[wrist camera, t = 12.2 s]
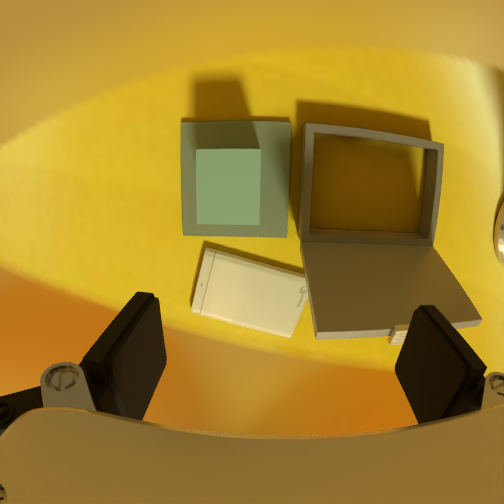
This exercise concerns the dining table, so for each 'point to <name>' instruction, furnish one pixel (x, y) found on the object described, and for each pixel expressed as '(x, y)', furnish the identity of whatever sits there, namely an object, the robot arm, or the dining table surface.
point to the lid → (379, 289)
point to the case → (364, 236)
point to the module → (228, 186)
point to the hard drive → (249, 293)
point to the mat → (271, 178)
